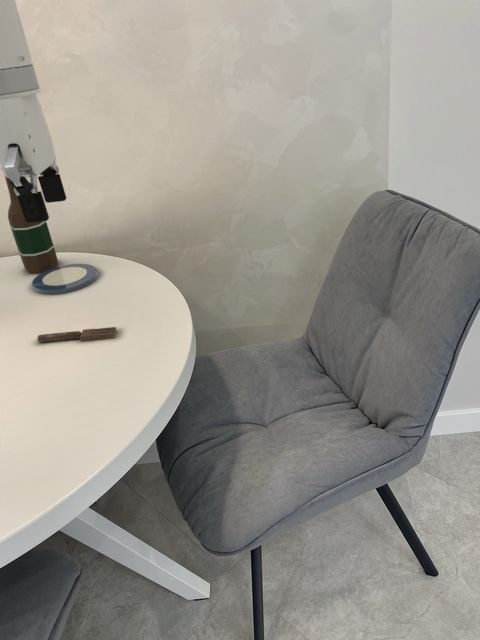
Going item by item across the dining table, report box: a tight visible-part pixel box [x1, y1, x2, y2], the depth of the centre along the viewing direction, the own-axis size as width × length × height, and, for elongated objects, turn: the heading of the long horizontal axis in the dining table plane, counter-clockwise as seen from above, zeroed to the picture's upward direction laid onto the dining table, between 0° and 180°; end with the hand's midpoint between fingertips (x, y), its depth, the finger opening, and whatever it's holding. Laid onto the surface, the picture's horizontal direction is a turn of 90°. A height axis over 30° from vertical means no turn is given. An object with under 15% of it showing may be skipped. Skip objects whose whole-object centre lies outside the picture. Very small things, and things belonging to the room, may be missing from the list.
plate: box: [31, 263, 99, 295], centre depth 121 cm, size 14×14×1 cm
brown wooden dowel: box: [36, 326, 118, 343], centre depth 98 cm, size 14×3×1 cm, turn 93°
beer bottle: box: [0, 168, 59, 275], centre depth 123 cm, size 8×8×24 cm
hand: (47, 210), depth 81 cm, fingers open, 9 cm apart
